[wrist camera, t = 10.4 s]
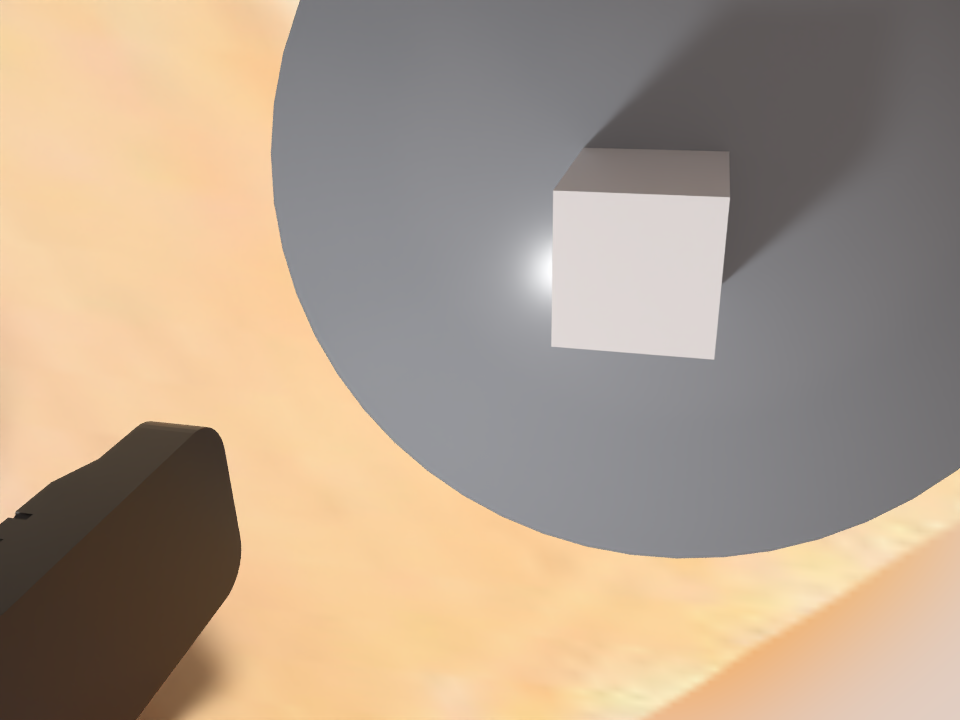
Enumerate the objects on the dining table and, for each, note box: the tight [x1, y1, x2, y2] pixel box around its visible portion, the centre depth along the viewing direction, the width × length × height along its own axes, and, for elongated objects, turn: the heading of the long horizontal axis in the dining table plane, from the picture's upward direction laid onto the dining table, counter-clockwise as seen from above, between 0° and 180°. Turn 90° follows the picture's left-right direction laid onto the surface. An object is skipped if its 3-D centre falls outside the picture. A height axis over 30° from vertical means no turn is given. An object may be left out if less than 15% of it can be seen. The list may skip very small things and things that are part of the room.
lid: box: [271, 0, 960, 558], centre depth 19 cm, size 19×19×5 cm
